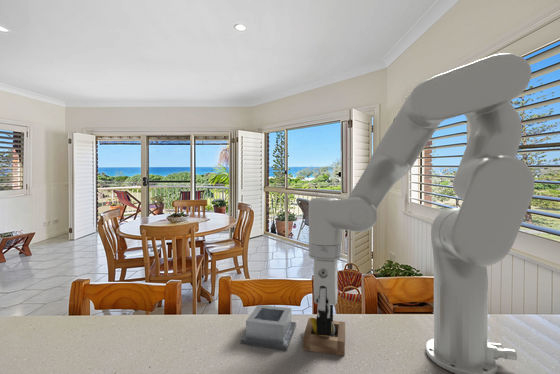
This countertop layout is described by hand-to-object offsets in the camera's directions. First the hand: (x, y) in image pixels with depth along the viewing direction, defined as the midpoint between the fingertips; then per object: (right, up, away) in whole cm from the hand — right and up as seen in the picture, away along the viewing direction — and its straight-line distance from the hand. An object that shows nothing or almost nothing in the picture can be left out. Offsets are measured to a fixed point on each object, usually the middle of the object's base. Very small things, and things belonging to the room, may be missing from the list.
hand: (325, 326), depth 66 cm
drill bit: (-1, -4, -1) cm, 4 cm away
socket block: (0, -4, 0) cm, 4 cm away
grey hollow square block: (-13, -4, +3) cm, 14 cm away
